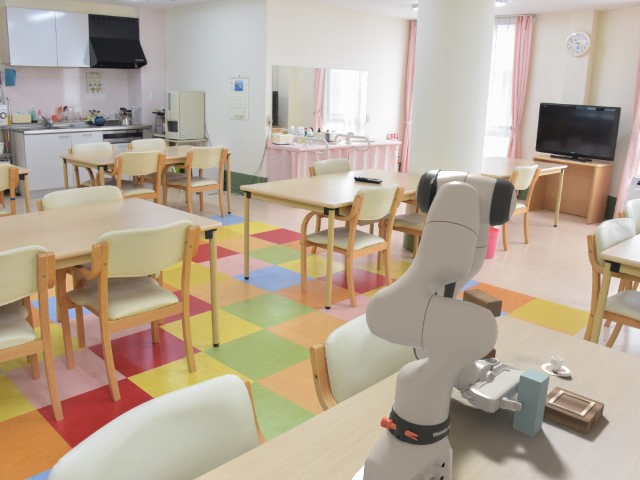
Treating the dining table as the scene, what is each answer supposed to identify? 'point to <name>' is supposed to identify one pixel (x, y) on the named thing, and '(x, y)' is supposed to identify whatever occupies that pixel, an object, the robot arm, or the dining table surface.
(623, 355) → the dining table surface
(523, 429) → the column
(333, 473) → the dining table surface
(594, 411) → the plinth
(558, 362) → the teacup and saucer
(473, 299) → the decorative block
